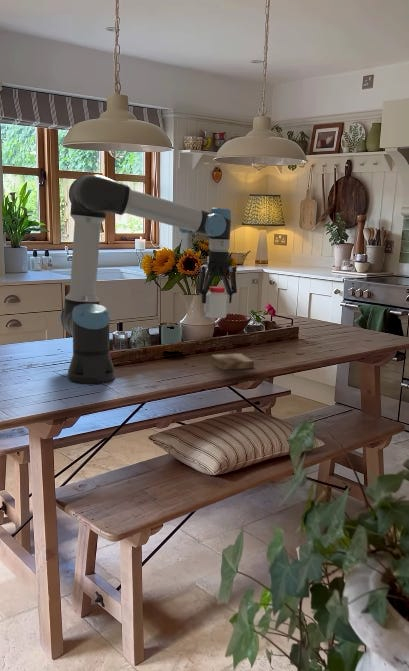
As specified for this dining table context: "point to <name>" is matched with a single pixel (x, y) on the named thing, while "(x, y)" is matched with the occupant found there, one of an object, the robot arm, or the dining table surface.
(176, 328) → the pale green box
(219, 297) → the pill bottle
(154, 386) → the dining table surface
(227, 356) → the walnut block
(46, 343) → the dining table surface
